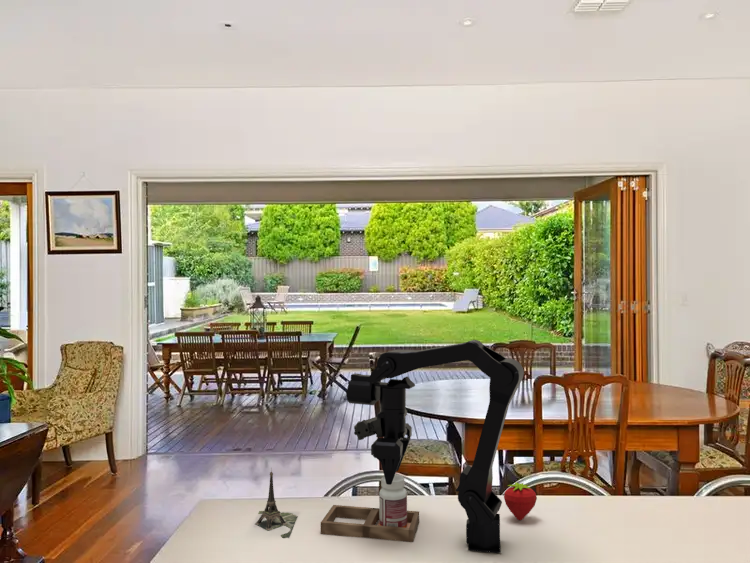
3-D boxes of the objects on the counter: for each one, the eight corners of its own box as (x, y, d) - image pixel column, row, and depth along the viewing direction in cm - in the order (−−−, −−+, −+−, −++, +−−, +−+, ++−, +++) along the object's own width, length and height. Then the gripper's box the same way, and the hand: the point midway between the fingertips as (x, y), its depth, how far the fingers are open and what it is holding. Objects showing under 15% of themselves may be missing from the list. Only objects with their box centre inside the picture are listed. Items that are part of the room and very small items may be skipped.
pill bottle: (412, 528, 127) (412, 477, 127) (393, 537, 123) (393, 484, 123) (392, 520, 132) (392, 471, 132) (373, 528, 127) (373, 477, 128)
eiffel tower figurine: (289, 541, 123) (290, 479, 123) (242, 541, 123) (243, 478, 123) (300, 513, 138) (300, 458, 138) (257, 513, 138) (258, 457, 138)
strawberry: (540, 525, 130) (540, 481, 130) (507, 526, 130) (507, 481, 130) (532, 515, 136) (532, 472, 136) (500, 515, 136) (500, 473, 136)
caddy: (419, 522, 132) (419, 511, 132) (413, 542, 121) (413, 530, 121) (333, 515, 136) (333, 504, 136) (320, 533, 125) (320, 522, 125)
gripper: (366, 397, 139) (366, 462, 138) (347, 414, 120) (347, 489, 120) (412, 399, 136) (411, 465, 136) (400, 417, 118) (399, 493, 118)
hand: (392, 477), depth 128 cm, fingers open, 9 cm apart
